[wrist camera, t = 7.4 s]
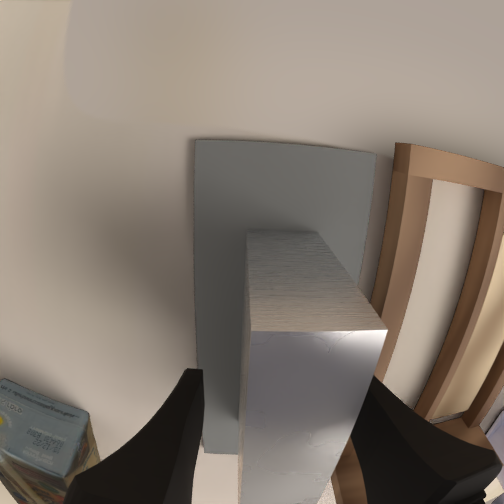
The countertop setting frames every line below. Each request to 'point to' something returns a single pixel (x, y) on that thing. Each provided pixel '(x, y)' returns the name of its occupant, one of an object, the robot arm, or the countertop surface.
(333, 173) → the mat
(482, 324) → the offcut top
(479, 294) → the rack
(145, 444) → the robot arm
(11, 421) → the beverage carton
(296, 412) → the shiny grey metal block
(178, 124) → the countertop surface
